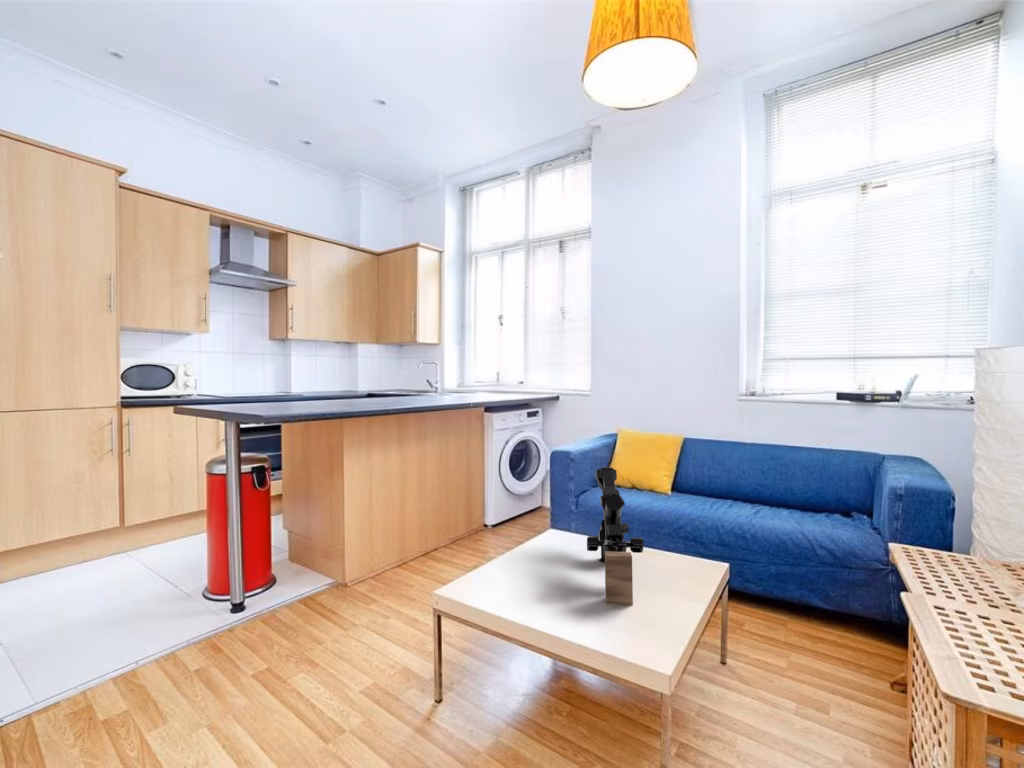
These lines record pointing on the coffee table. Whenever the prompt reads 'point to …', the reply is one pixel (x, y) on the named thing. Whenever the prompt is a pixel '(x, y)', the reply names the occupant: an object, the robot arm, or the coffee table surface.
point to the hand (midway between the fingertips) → (616, 569)
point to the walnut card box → (618, 578)
